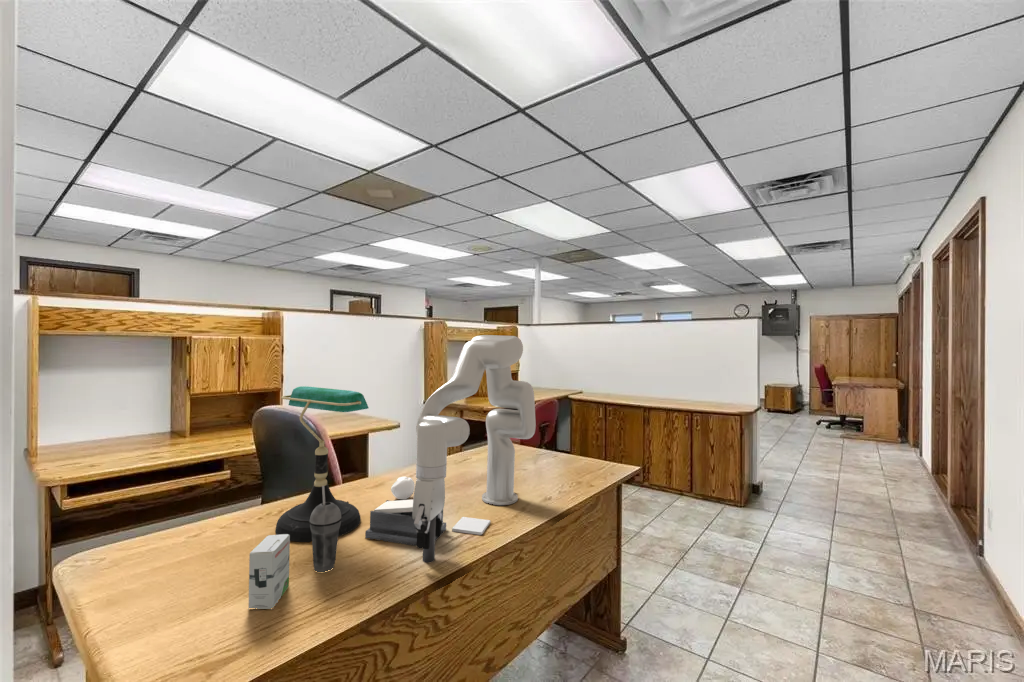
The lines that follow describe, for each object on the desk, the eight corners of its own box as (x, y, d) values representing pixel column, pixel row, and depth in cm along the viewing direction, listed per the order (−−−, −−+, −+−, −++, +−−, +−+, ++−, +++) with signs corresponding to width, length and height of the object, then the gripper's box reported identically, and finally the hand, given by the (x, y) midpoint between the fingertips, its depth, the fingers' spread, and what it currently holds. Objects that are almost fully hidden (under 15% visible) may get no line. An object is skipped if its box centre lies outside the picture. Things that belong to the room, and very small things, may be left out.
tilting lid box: (365, 538, 124) (366, 512, 124) (387, 521, 135) (387, 498, 135) (429, 547, 119) (429, 521, 119) (446, 529, 131) (446, 505, 131)
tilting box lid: (374, 514, 126) (374, 509, 126) (387, 505, 133) (386, 501, 133) (430, 510, 122) (429, 506, 122) (440, 501, 129) (439, 497, 129)
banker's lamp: (381, 519, 136) (385, 388, 136) (320, 551, 116) (325, 396, 116) (318, 504, 148) (322, 382, 148) (252, 530, 127) (256, 388, 127)
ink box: (266, 587, 98) (268, 533, 98) (289, 586, 99) (291, 533, 99) (246, 611, 90) (248, 552, 90) (272, 610, 90) (273, 551, 90)
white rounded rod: (425, 556, 115) (426, 509, 115) (436, 557, 114) (437, 510, 114) (420, 561, 112) (421, 513, 112) (431, 563, 111) (433, 515, 111)
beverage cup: (347, 563, 109) (349, 482, 109) (325, 578, 103) (328, 491, 103) (323, 558, 112) (325, 478, 112) (300, 572, 105) (303, 487, 105)
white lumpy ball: (403, 493, 160) (403, 471, 160) (419, 497, 156) (419, 475, 156) (386, 499, 153) (387, 477, 153) (402, 504, 149) (403, 481, 149)
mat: (462, 519, 139) (462, 516, 139) (490, 522, 137) (490, 520, 137) (451, 531, 130) (452, 528, 130) (481, 535, 128) (481, 532, 128)
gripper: (431, 460, 122) (429, 526, 122) (401, 479, 105) (399, 555, 105) (457, 463, 120) (455, 529, 120) (431, 482, 103) (428, 560, 103)
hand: (429, 541), depth 113 cm, fingers open, 6 cm apart
